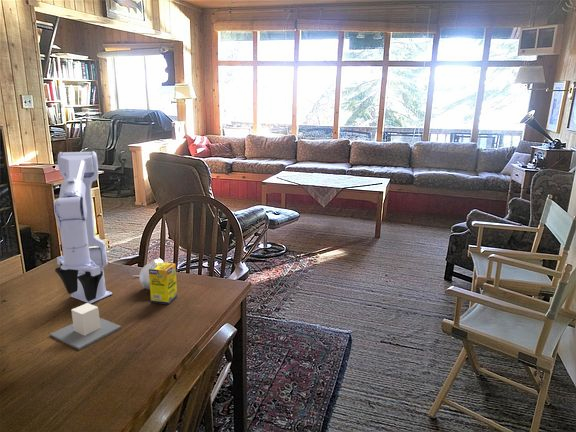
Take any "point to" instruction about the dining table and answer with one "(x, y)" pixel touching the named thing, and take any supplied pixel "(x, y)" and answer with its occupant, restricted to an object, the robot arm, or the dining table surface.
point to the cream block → (86, 319)
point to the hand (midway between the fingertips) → (81, 295)
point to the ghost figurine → (147, 273)
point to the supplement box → (163, 282)
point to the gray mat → (82, 341)
